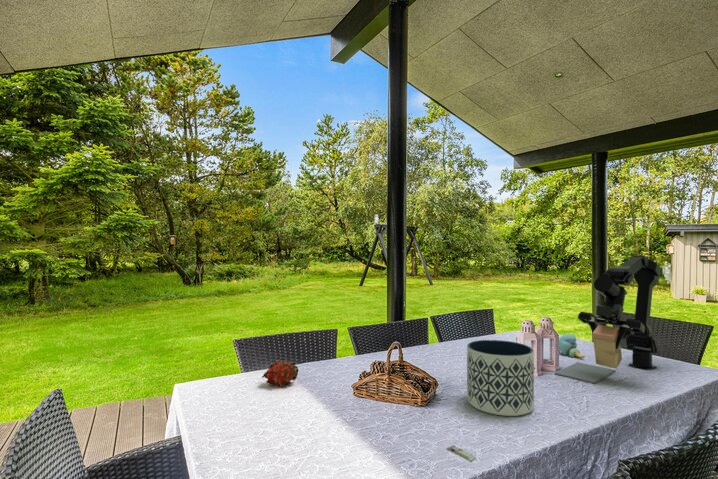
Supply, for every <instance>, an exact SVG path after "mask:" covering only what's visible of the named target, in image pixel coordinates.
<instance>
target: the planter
mask: <svg viewBox="0 0 718 479" xmlns="http://www.w3.org/2000/svg"><path fill="white" fill-rule="evenodd" d="M534 353H535V352H534V349H533V348H532V347H531V346H529V345H526V344H523V343H519V342H515V341H509V340H501V339H500V340H498V339H481V340H474V341H471V342H468V343H467V345H466V382H467V383H466V384H467V385H466V394H467V395H466V400H467V402H468V403H469V404H470V405H471V406H472V407H473V408H475V409H477V410H479V411H481V412H483V413H487V414H489V415H495V416H501V417H518V416H519V417H520V416H523V415H526V414H529V413H531V412H532V411H533V410H534V409H535V372H534V371H535V367H534V366H535V364H534V361H535V359H534V358H535V357H534V355H535V354H534Z"/></svg>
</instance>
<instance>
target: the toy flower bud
mask: <svg viewBox="0 0 718 479" xmlns="http://www.w3.org/2000/svg"><path fill="white" fill-rule="evenodd" d="M558 341H559V348H558V350H559V349H560V350H559V352H561V354H562V355H564V356H568V355H569V356H570V357H571V358H574V357H575V358H580V359H585V358H586V356H585V354H584V355H582V354H581V352H580V350H579V349H578V348H577V347H578V344H577V342H576V341H577V337H576V336H575V335H574V334H571V333H565V334H562V336H560V337H559V338H558Z"/></svg>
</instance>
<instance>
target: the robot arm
mask: <svg viewBox="0 0 718 479" xmlns="http://www.w3.org/2000/svg"><path fill="white" fill-rule="evenodd" d="M661 276H662V268H661V266H660V265H659V263H657V262H656V261H654V260H652V259H649V257H648V256H647V255H637V254H636V255H634V254H633V255H631V256H630V257H629V259H627V260H625V262H623V263H622V264H621V265H619V266H618V265H617V266H612V267H611V266H610V267H609V268H608V269H606V271H605V272H604V273H601V276H599V277H598V278H596V279H595V281H594V282H593V287H594V289H595V290H596V291H597V292H598V293H600V295H601V296H603V297H604V301H602V303H601V304H599V305H598V304H597V305H596V307H595V308H596V309H595V315H596V316H595V315H594V314H593V313H592V312H586V311H580V312H579V313H578V316H577V319H578V320H579V321H580V322H581V323H582V324H587V325H588V326H589V327H590V329H591V330H590V331H591V334H592V335H593V332H594V330H595V329H596V328H597V326H598V325H599V324H603V325H612V326H615V327H618V328H619V334H618V338H617V342H616V349H618V348H619V347H620V345H621V346H622V344H623V343H624V342H625V344H626V348H627V350H628V349H629V350H632V356H631V357H632V358H631V359H632V361H631V363H628V366H632V367H635V368H638V369H641V370H652V369H657V366H656V365H653V354H658V353H659V345H658V343H657V341H656V338H655V336H654V331H653V329H652V328H651V326H650V321H651V320H650V319H651V308H652V301H653V300H652V299H653V290H654V287H655V286H656V285H657V284H658V283H659V282H660V281H659V280H660V277H661ZM634 280H635V282H636V284H637V290H636V300H635V310H634V319H632V318H627V319H626V320H622V317H623V316H622V315H623V312H624V310H625V309H624V304H625V299H626V295H628V292H627V290H626V289H625V287H624V286H629V285H630V284H631V283H632V282H633V281H634Z"/></svg>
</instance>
